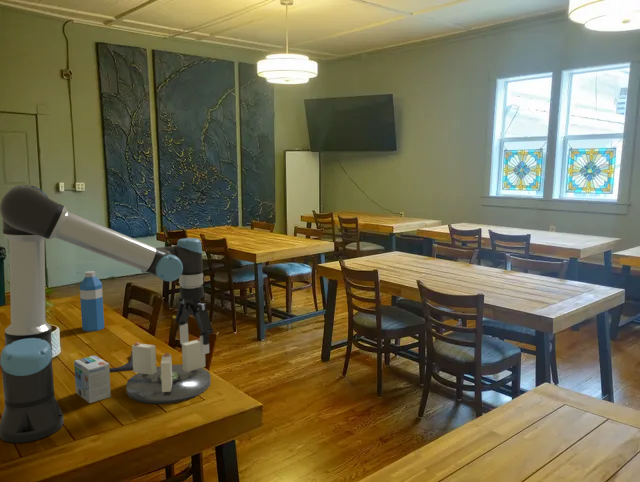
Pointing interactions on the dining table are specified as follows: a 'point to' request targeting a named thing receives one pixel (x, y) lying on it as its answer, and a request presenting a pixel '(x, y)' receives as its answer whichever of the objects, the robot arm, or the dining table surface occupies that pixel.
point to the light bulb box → (92, 378)
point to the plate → (182, 388)
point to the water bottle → (91, 303)
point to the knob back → (144, 359)
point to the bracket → (124, 366)
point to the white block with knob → (166, 372)
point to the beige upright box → (192, 356)
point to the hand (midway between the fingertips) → (194, 348)
